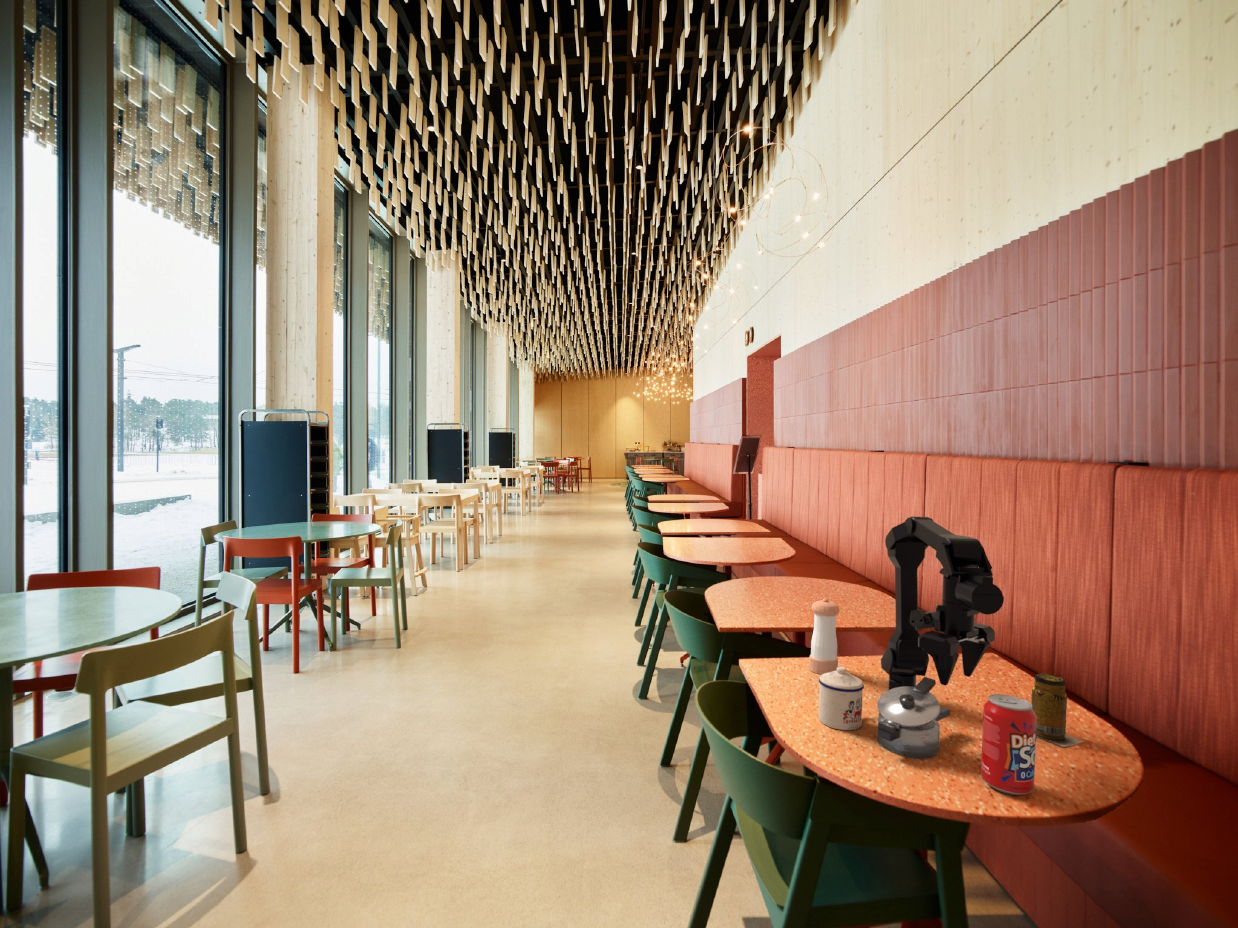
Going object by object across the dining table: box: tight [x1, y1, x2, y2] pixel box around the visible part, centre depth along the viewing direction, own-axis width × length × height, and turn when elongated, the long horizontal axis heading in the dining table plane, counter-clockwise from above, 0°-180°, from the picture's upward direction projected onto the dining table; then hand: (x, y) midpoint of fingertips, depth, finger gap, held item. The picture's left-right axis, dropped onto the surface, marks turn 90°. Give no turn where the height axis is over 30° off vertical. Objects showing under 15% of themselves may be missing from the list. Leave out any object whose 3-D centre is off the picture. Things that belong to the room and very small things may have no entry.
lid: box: [876, 676, 941, 729], centre depth 123 cm, size 15×11×2 cm
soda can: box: [980, 693, 1037, 796], centre depth 108 cm, size 8×8×15 cm
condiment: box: [1030, 673, 1085, 748], centre depth 129 cm, size 7×8×12 cm
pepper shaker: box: [808, 597, 840, 675], centre depth 165 cm, size 7×7×19 cm
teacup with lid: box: [818, 666, 865, 731], centre depth 134 cm, size 12×9×12 cm
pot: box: [877, 704, 951, 760], centre depth 124 cm, size 22×11×6 cm, turn 125°
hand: (955, 680), depth 123 cm, fingers open, 9 cm apart
